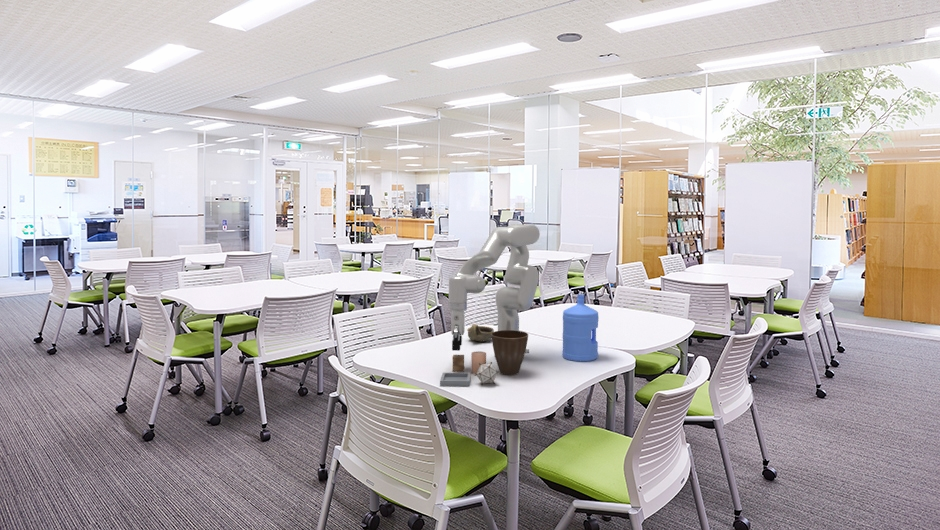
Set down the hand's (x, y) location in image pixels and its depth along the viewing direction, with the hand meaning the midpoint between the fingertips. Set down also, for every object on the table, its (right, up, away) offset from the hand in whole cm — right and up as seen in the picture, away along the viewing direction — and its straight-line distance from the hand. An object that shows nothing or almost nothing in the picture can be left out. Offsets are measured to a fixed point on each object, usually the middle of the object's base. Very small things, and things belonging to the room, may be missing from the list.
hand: (456, 347), depth 231 cm
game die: (+12, -11, -17) cm, 24 cm away
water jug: (+55, -8, +21) cm, 59 cm away
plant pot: (+21, -10, -3) cm, 24 cm away
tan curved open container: (+10, -5, +53) cm, 54 cm away
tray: (0, -11, -14) cm, 18 cm away
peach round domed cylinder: (+9, -10, -2) cm, 13 cm away
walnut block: (+1, -10, +1) cm, 10 cm away
